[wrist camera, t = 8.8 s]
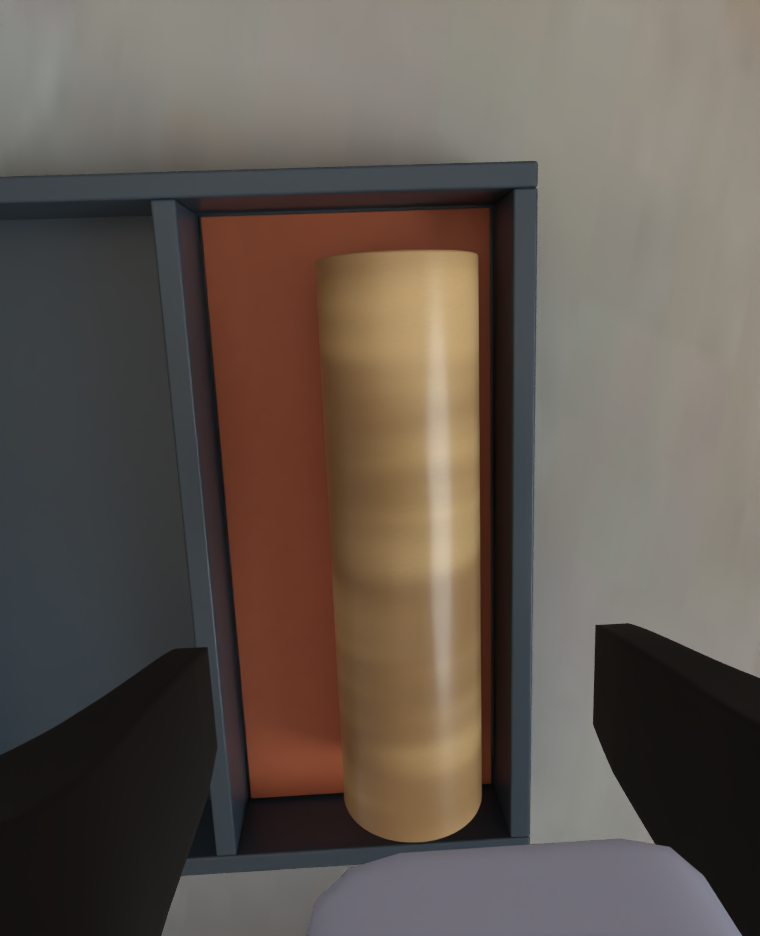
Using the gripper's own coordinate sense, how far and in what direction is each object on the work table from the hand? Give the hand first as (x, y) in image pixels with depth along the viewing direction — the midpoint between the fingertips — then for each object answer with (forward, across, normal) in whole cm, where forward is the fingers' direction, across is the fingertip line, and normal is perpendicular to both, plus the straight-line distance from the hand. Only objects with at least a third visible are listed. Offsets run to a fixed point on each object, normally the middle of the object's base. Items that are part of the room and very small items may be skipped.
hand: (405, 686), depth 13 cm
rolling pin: (+8, +1, -1) cm, 8 cm away
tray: (+9, +5, -1) cm, 10 cm away
